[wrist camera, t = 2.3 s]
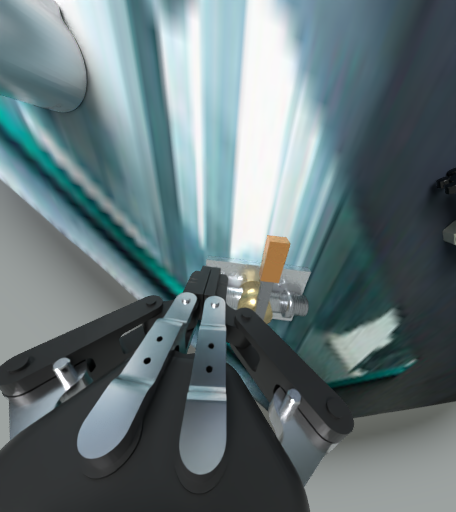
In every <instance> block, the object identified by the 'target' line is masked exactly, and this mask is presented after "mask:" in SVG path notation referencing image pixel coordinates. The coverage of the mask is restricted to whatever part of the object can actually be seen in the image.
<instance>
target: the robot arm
mask: <svg viewBox="0 0 456 512" xmlns="http://www.w3.org/2000/svg"><path fill="white" fill-rule="evenodd" d="M86 85H87V78H86V69H85V64H84V60H83V57H82V54H81V51H80V49H79V46H78V44H77V42H76V40H75V38H74V36H73V35H72V33H71V32H70V30H69V29H68V27H67V26H66V24H65V23H64V21H63V20H62V17H61V14H60V10H59V6H58V4H57V3H56V2H55V1H54V0H0V95H2V96H6V97H9V98H12V99H16V100H19V101H22V102H26V103H29V104H32V105H35V106H38V107H41V108H45V109H49V110H53V111H57V112H69V111H72V110H74V109H76V108H77V107H78V106H79V105H80V104H81V102H82V101H83V98H84V95H85V92H86ZM220 273H221V268H218V267H210V266H203V267H202V269H201V271H195V272H194V273H192V274H191V276H190V279H189V281H188V283H187V285H186V287H185V289H184V291H183V293H181V294H179V295H178V296H177V297H176V299H175V300H171V301H163V300H162V298H161V297H159V296H155V295H152V296H148V297H145V298H143V299H141V300H138V301H136V302H134V303H132V304H130V305H127V306H125V307H123V308H121V309H118V310H116V311H114V312H112V313H110V314H107V315H105V316H103V317H101V318H98V319H96V320H94V321H92V322H90V323H87V324H85V325H83V326H81V327H78V328H76V329H74V330H72V331H69V332H67V333H65V334H63V335H61V336H58V337H56V338H54V339H52V340H49V341H47V342H45V343H43V344H40V345H38V346H36V347H34V348H32V349H29V350H27V351H25V352H23V353H21V354H18V355H17V356H14V357H12V358H11V359H9V360H8V361H6V362H5V363H4V364H2V365H1V366H0V390H1V391H2V394H3V395H4V397H6V398H7V399H8V400H9V417H10V441H9V442H8V443H7V444H6V445H5V446H4V447H3V448H2V449H1V450H0V512H310V509H309V504H308V500H307V496H306V492H305V489H304V486H305V485H306V483H307V482H308V480H309V479H310V477H311V476H312V474H313V473H314V471H315V469H316V468H317V466H318V465H319V463H320V461H321V460H322V459H323V457H324V456H325V455H327V454H328V453H329V452H330V451H331V450H332V449H333V448H334V447H335V446H336V445H337V444H339V443H340V442H341V441H342V440H343V439H344V438H345V437H346V436H347V435H348V434H349V433H350V432H352V430H353V427H354V420H353V416H352V414H351V411H350V410H349V408H348V406H347V405H346V404H345V402H344V401H343V400H342V399H341V398H340V397H339V396H338V395H337V394H336V393H335V392H334V391H333V390H332V389H331V388H330V387H329V386H328V385H327V384H326V383H325V382H324V381H323V380H322V379H321V378H320V377H319V376H318V375H317V374H316V373H315V372H314V371H313V370H312V369H311V368H310V367H309V366H308V365H307V364H306V363H305V362H304V361H303V360H302V359H301V358H300V357H299V356H298V355H297V354H296V353H295V352H294V351H293V350H292V349H291V348H290V347H289V346H288V345H287V344H286V343H285V342H284V341H283V340H282V339H281V338H280V337H279V336H278V335H277V334H276V333H275V332H274V331H273V330H272V329H271V328H270V327H269V326H268V325H267V324H266V323H265V322H264V321H263V320H262V319H261V318H260V317H259V316H258V315H257V314H256V313H255V312H254V311H253V310H252V309H249V308H245V307H244V308H239V309H238V310H235V309H233V308H231V307H229V306H228V304H227V303H226V294H227V286H228V277H227V275H226V274H220ZM198 319H200V320H202V321H201V325H200V328H199V333H198V339H197V345H196V351H195V353H193V354H187V351H188V348H189V346H190V343H191V340H192V338H193V335H194V332H195V330H196V325H197V321H198ZM140 324H142V326H140V327H139V328H137V329H135V330H133V331H131V332H130V333H128V334H126V335H124V336H122V334H124V333H125V332H127V331H129V330H131V329H133V328H134V327H136V326H138V325H140ZM121 336H122V337H121ZM226 342H228V343H230V345H231V348H232V349H233V351H234V352H235V354H236V355H237V357H238V358H239V359H240V361H241V362H242V364H243V365H244V367H245V368H246V369H247V371H248V372H249V374H250V375H251V377H252V378H253V380H254V381H255V382H256V384H257V385H258V387H259V388H260V390H261V391H262V392H263V394H264V395H265V397H266V398H267V400H268V401H269V402H270V405H269V418H270V421H271V423H272V425H273V427H274V429H275V432H276V435H275V433H274V432H273V430H272V428H271V427H270V425H269V423H268V422H267V420H266V419H265V417H264V415H263V413H262V412H261V410H260V409H259V407H258V405H257V404H256V402H255V400H254V398H253V397H252V395H251V393H250V392H249V390H248V389H247V387H246V385H245V384H244V382H243V380H242V379H241V377H240V375H239V374H238V373H237V371H236V370H235V369H234V368H233V367H232V366H230V365H229V364H228V363H226ZM276 436H277V437H276Z"/></svg>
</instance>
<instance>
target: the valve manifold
mask: <svg viewBox="0 0 456 512" xmlns="http://www.w3.org/2000/svg"><path fill="white" fill-rule="evenodd" d="M206 266H210V267H218V268H221V273H220V274H226V275H227V277H228V286H227V294H226V303H227V304H228V306H229V307H231V308H233V309H235V310H238V309H239V308H244V307H245V308H249V309H252V310H253V311H254V308H255V304H256V300H257V296H258V291H259V287H260V283H261V281H260V276H259V271H260V266H261V262H258V261H249V260H241V259H233V258H224V257H216V256H208V257H207V260H206ZM310 273H311V272H310V270H309V269H308V267H299V266H291V265H284V267H283V270H282V274H281V277H280V280H279V283H274V285H273V289H272V292H271V296H270V299H269V303H268V306H267V310H266V313H265V317H264V320H263V321H264V322H265V323H266V324H268V323H269V322H270V321H271V320H272V319H279V320H287V321H292V318H293V316H294V315H297V316H305V315H306V314H307V312H308V300H307V298H306V296H304V295H302V293H303V291H304V288H305V286H306V283H307V281H308V278H309V275H310Z"/></svg>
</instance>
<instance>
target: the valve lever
mask: <svg viewBox="0 0 456 512" xmlns="http://www.w3.org/2000/svg"><path fill="white" fill-rule="evenodd" d="M289 247H290V242H289V241H288V239H287V238H286V237H278V236H269V235H267V239H266V244H265V248H264V253H263V257H262V262H261V266H260V271H259V276H260V281H261V283H260V287H259V291H258V296H257V300H256V304H255V308H254V312H255V313H256V314H257V315H258V316H259V317H260V318H261V319H262V320H264V317H265V313H266V310H267V306H268V303H269V299H270V296H271V292H272V289H273V285H274V283H279V280H280V277H281V274H282V270H283V267H284V264H285V261H286V257H287V254H288V251H289Z"/></svg>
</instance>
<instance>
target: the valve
mask: <svg viewBox="0 0 456 512" xmlns="http://www.w3.org/2000/svg"><path fill="white" fill-rule="evenodd" d="M436 183H437V188H444V185H445V184H447V185H445V193H446V194H454V193H456V168H454V169H451V170H449V171H448V177H443V178H440V179H438V180H437V181H436ZM443 239H444V241H446V242H449V243H451V244H454V245H456V220H455V221H454V222H452V223H451V224H450V225H449V226H448V227H447V228H445V229H444V230H443Z"/></svg>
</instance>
